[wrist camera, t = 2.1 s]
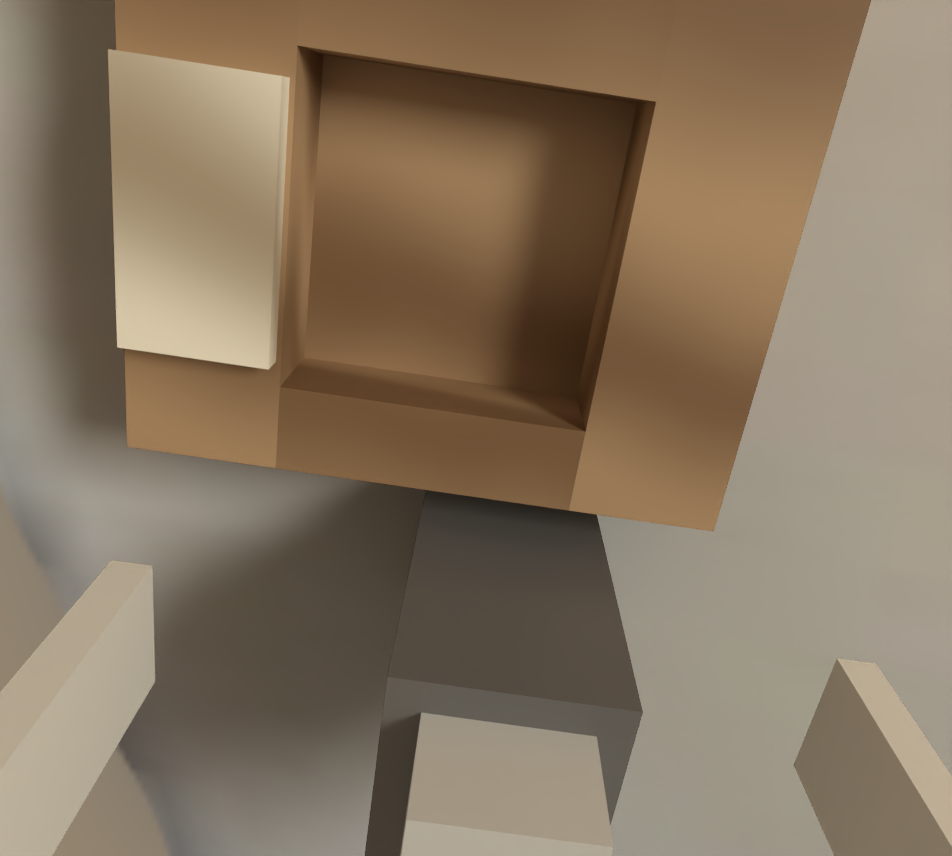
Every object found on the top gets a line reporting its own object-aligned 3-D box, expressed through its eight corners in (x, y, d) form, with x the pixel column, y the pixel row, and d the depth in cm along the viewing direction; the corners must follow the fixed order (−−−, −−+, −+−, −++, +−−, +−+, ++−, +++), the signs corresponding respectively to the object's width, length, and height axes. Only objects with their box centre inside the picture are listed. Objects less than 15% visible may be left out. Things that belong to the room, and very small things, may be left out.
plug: (560, 616, 21) (605, 1014, 12) (413, 595, 21) (341, 979, 12) (589, 484, 19) (667, 821, 10) (432, 461, 19) (366, 779, 10)
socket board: (677, 460, 19) (719, 543, 15) (192, 389, 19) (115, 457, 15) (947, -554, 12) (1138, -844, 9) (199, -687, 12) (64, -1045, 8)
